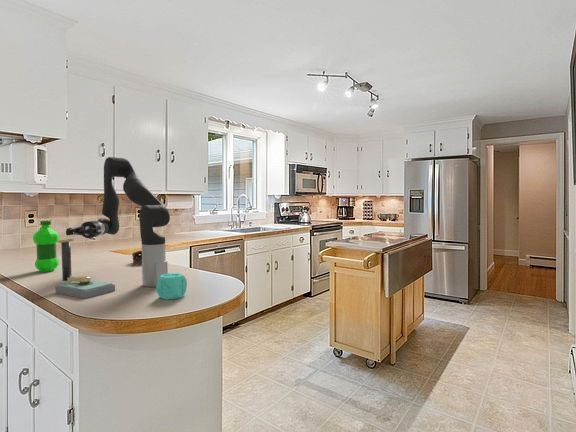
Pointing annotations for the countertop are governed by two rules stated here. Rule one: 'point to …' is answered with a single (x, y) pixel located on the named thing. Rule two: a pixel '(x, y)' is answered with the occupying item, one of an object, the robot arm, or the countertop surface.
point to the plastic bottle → (46, 247)
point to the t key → (69, 263)
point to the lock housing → (85, 289)
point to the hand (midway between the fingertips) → (73, 232)
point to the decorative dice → (171, 286)
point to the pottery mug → (137, 257)
